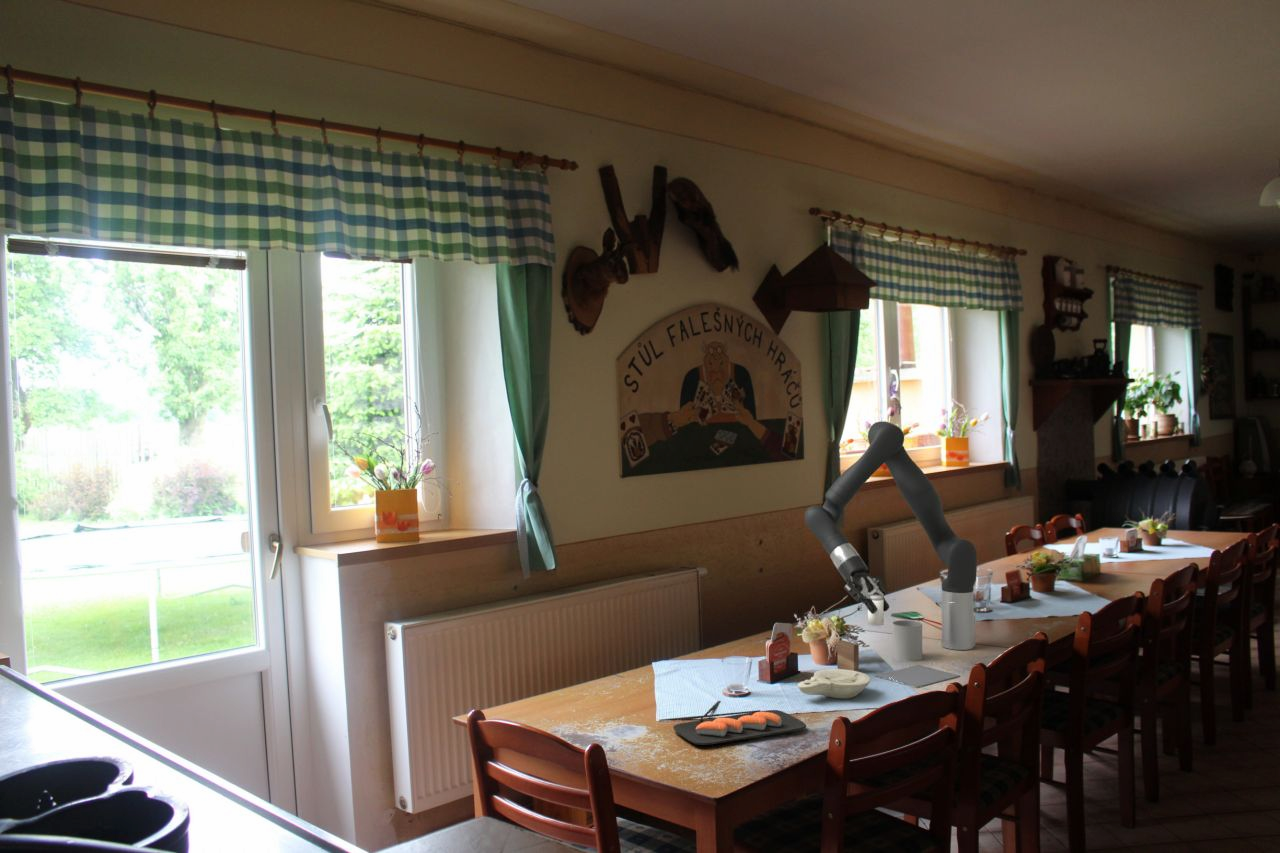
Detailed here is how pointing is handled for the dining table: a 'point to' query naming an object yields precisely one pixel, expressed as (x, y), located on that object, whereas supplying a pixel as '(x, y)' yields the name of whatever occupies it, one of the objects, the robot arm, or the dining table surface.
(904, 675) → the felt mat
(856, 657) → the brown flat rectangular block
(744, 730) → the sushi plate
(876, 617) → the sugar shaker
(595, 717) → the dining table surface
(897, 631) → the cup
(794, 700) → the dining table surface
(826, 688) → the oil lamp
